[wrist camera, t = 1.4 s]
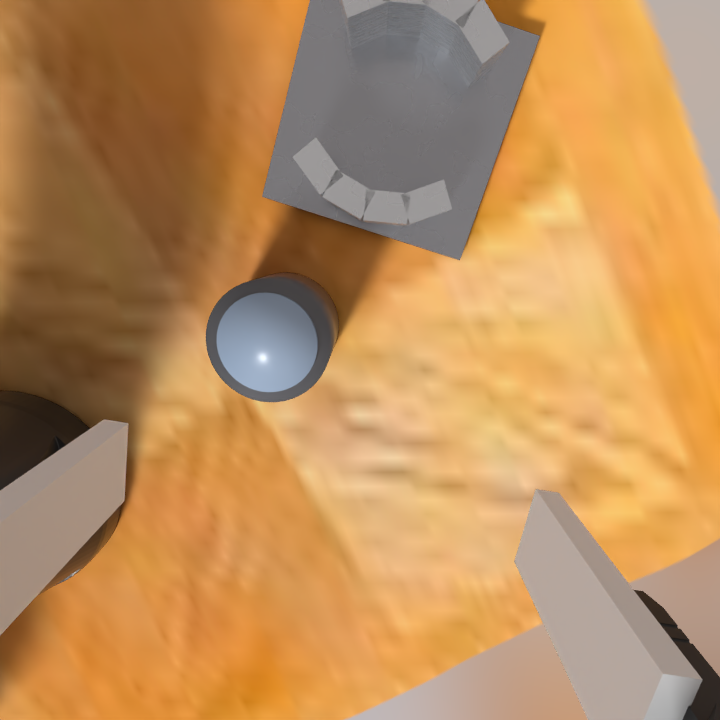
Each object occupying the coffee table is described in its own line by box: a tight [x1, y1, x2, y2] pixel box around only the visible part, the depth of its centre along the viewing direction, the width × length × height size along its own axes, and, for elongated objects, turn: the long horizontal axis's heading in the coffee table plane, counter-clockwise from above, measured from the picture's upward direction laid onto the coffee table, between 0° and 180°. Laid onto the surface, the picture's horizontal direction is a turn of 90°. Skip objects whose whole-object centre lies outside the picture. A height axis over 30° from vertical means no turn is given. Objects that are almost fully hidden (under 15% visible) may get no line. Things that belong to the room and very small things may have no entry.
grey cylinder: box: [206, 272, 339, 402], centre depth 29 cm, size 7×7×6 cm
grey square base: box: [262, 0, 540, 260], centre depth 26 cm, size 13×13×5 cm
